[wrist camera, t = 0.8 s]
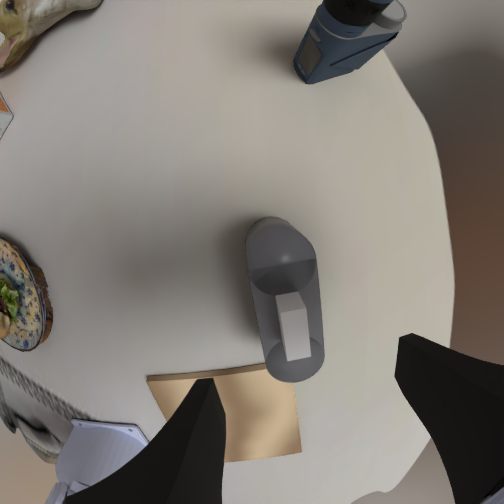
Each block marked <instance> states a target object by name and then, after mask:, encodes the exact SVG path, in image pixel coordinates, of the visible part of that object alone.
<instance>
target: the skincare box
mask: <svg viewBox="0 0 504 504" xmlns="http://www.w3.org/2000/svg"><path fill="white" fill-rule="evenodd" d="M12 118H13V115H12V113H11V112H10V110H9V108H8V106H7V105H6V103H5V101H4V100H3V97H2V95H1V93H0V138H1V137H2V135H3V133H4V131H5V130H6V128H7V126H8V125H9V123H10V121H11V120H12Z"/></svg>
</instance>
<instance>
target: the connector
mask: <svg viewBox="0 0 504 504" xmlns="http://www.w3.org/2000/svg"><path fill="white" fill-rule="evenodd" d="M245 245H246V260H247V271H248V276H249V281H250V286H251V292H252V297H253V302H254V307H255V312H256V317H257V322H258V328H259V333H260V338H261V343H262V348H263V353H264V358H265V363H266V368H267V370H268V372H269V374H270V375H271V376H272V377H274V378H275V379H277V380H279V381H282V382H287V383H295V382H300V381H303V380H306V379H308V378H310V377H311V376H313V375H314V374H315V373H316V372H317V371H318V370H319V369H320V368H321V366H322V364H323V362H324V355H325V354H324V338H323V324H322V311H321V300H320V289H319V279H318V269H317V260H316V254H315V251H314V248H313V246H312V245H311V243H310V242H309V241H308V240H307V238H305V237H304V236H303V235H302V234H301V233H300V232H299V231H297V230H296V229H295V228H294V227H293V226H292V225H290V224H289V223H288V222H287V221H285V220H283V219H281V218H278V217H266V218H263V219H261V220H259V221H257V222H256V223H254V224H253V225H252V227H251V228H250V229H249V231H248V233H247V236H246V241H245Z"/></svg>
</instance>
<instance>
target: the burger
mask: <svg viewBox="0 0 504 504" xmlns="http://www.w3.org/2000/svg"><path fill="white" fill-rule="evenodd" d="M46 287H48V286H47V284H46V282H45V276H44V274H43V272H42V270H41V268H37V267H31V266H30V265H29V264H28V263H27V261H26V259H25V258H24V256H23V254H22V253H21V252H20V250H19V249H18V248H17V247H16V246H14V245H12V244H10V243H9V242H8V241H6V240H5V239H4V238H2V237H0V339H2V340H3V341H4V342H5V343H7V344H8V345H10V346H11V347H12V348H15V349H17V350H20V351H22V352H24V351H31V350H33V349H35V348H36V347H37V346H38V345H39V344H41V343H43V342H44V341H45V340H46V339H47V338H48V336H49V334H50V332H51V328H52V323H53V313H52V312H53V309H52V307H51V304H50V303H51V302H50V301H49V298H48V296H49V295H48V293H49V291H47V289H46ZM47 292H48V293H47ZM50 309H51V310H50Z"/></svg>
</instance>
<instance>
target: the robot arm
mask: <svg viewBox="0 0 504 504" xmlns="http://www.w3.org/2000/svg"><path fill="white" fill-rule="evenodd" d="M394 376H395V379H396V381H397V383H398V385H399V387H400V389H401V391H402V393H403V395H404V396H405V398H406V400H407V401H408V402H409V404H410V405H411V407H412V408H413V410H414V411H415V413H416V414H417V416H418V417H419V419H420V420H421V422H422V423H423V425H424V426H425V428H426V429H427V431H428V432H429V434H430V436H431V437H432V439H433V441H434V443H435V445H436V448H437V450H438V452H439V454H440V456H441V459H442V461H443V464H444V466H445V469H446V471H447V475H448V478H449V481H450V484H451V487H452V491H453V495H454V500H455V504H504V365H499V364H495V363H490V362H486V361H482V360H479V359H476V358H473V357H470V356H467V355H464V354H462V353H459V352H457V351H454V350H451V349H449V348H447V347H444V346H442V345H440V344H437V343H435V342H433V341H431V340H428V339H426V338H424V337H421V336H419V335H416V334H413V333H410V334H408V335H405V336H402V337H399V344H398V353H397V361H396V368H395V375H394ZM71 423H72V424H73V426H74V428H73V430H72V431H71V433H70V435H69V437H68V439H67V441H66V442H65V444H64V446H63V448H62V450H61V452H60V454H59V455H58V458H57V460H56V475H57V478H58V480H59V483H56V484H55V485H54V487H53V489H52V490H51V492H50V494H49V496H48V498H47V500H46V503H45V504H222V477H223V467H224V457H225V447H226V413H225V411H224V408H223V405H222V402H221V399H220V396H219V394H218V391H217V388H216V385H215V382H214V379H213V377H212V378H203V379H197V380H196V381H195V382H194V384H193V385H192V387H191V389H190V390H189V392H188V393H187V395H186V396H185V398H184V399H183V401H182V402H181V404H180V405H179V406H178V408H177V409H176V411H175V412H174V413H173V415H172V416H171V418H170V419H169V420H168V421H167V423H166V424H165V425H164V426H163V428H162V429H161V430H160V431H159V432H158V434H157V435H156V436H155V437H154V438H153V439H152V440H151V441H150V442H148V441H147V439H146V438H145V436H144V435H143V433H142V432H141V430H140V429H139V428H138V427H137V426H135V425H123V424H110V423H100V422H91V421H84V420H77V419H72V420H71Z"/></svg>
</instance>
